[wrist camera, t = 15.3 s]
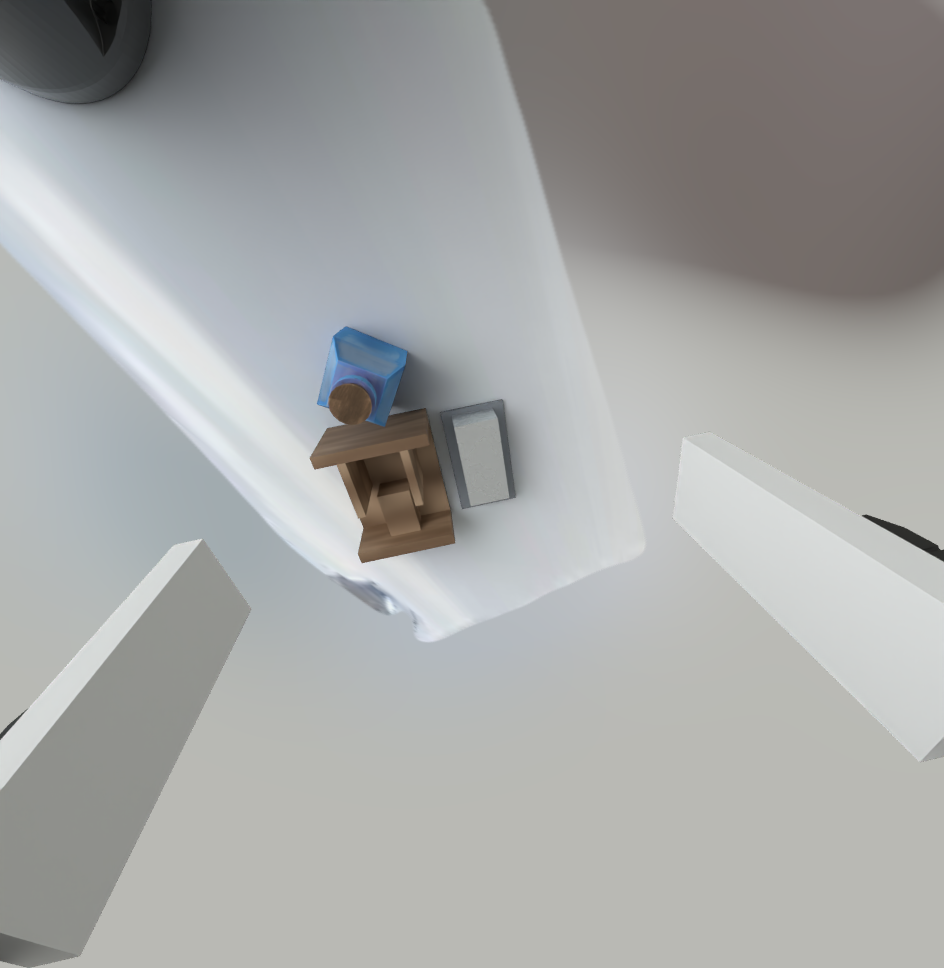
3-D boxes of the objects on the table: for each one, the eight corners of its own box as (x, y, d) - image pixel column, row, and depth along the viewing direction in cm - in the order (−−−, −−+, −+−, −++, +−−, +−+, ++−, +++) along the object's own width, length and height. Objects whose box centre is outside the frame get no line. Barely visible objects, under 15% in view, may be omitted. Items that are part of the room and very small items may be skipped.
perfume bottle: (389, 406, 41) (379, 453, 30) (330, 385, 39) (298, 427, 29) (407, 351, 38) (402, 381, 28) (345, 326, 36) (316, 348, 26)
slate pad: (440, 412, 42) (440, 413, 41) (501, 399, 42) (502, 400, 41) (461, 507, 48) (462, 509, 48) (514, 496, 48) (515, 497, 48)
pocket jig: (326, 428, 41) (309, 458, 35) (425, 408, 41) (426, 433, 35) (368, 531, 48) (360, 572, 42) (451, 514, 49) (456, 551, 42)
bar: (451, 415, 42) (454, 427, 39) (492, 407, 42) (497, 418, 39) (467, 491, 47) (470, 506, 44) (503, 483, 47) (509, 498, 44)
